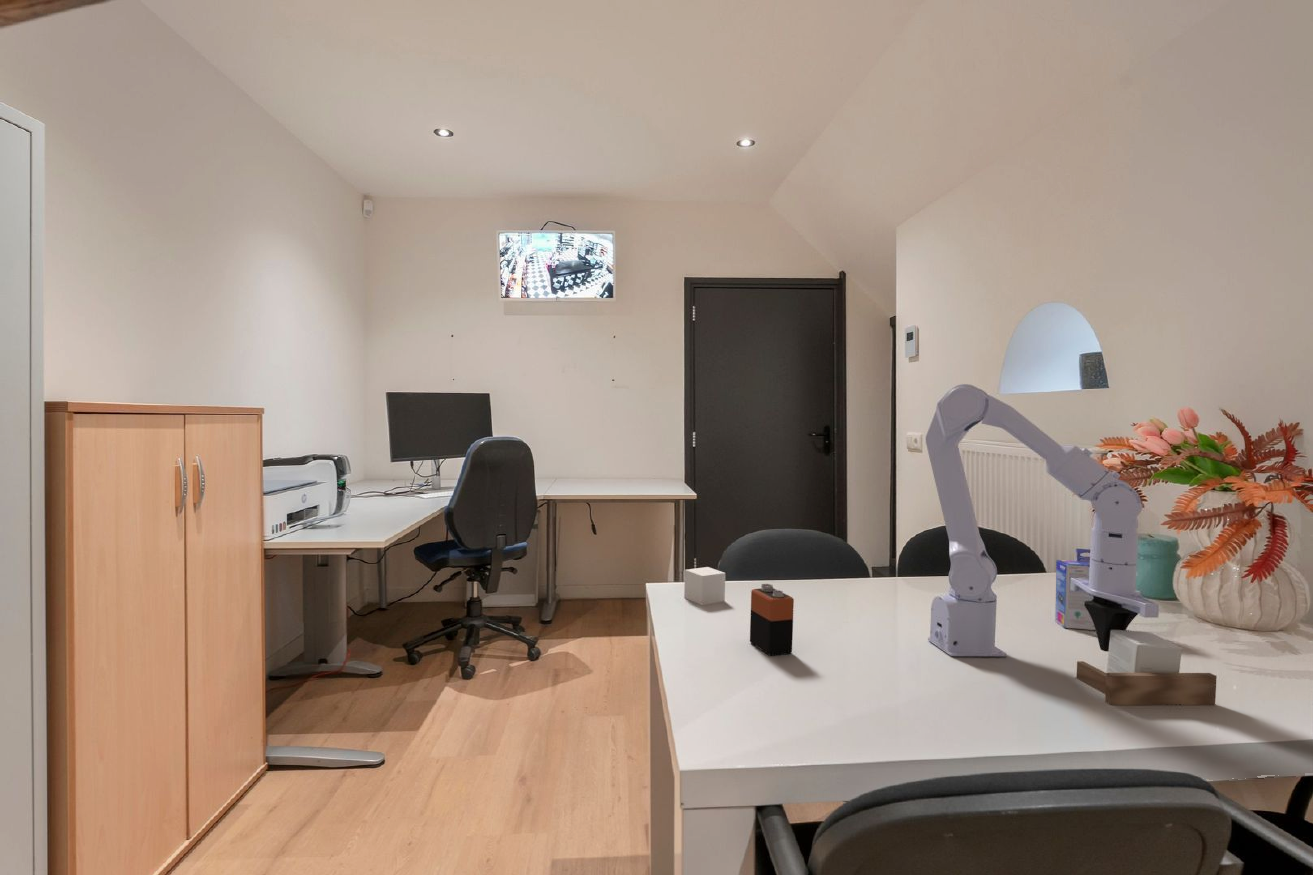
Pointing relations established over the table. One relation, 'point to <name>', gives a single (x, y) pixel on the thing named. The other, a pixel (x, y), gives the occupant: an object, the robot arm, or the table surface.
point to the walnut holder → (1150, 687)
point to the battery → (771, 620)
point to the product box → (1141, 653)
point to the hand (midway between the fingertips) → (1108, 650)
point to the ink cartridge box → (1072, 593)
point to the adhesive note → (704, 585)
